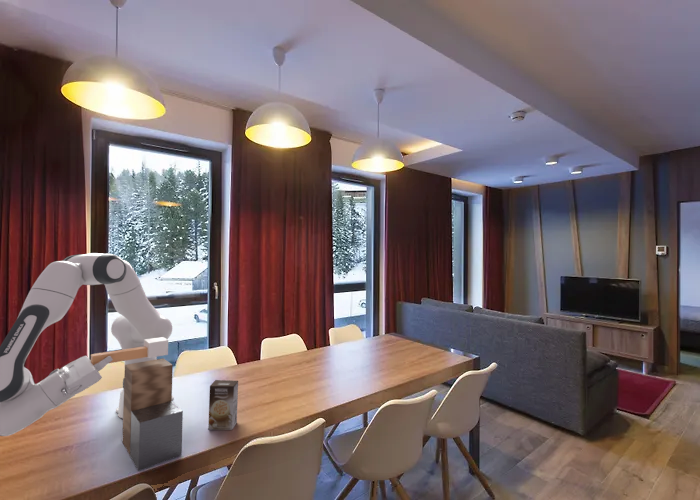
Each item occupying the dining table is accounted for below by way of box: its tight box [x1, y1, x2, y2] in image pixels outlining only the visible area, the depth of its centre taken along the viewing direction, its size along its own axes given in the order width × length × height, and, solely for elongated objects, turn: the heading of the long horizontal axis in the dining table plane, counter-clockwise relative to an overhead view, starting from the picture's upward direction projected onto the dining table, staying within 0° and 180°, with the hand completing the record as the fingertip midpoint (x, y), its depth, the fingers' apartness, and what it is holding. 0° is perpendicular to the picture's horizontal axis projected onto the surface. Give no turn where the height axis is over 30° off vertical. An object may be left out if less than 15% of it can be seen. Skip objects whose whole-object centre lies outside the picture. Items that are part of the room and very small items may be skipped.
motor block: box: [129, 400, 184, 472], centre depth 109 cm, size 12×10×14 cm
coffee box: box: [207, 379, 239, 431], centre depth 129 cm, size 9×6×16 cm
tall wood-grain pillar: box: [121, 357, 174, 456], centre depth 117 cm, size 12×10×26 cm
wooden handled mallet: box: [90, 337, 169, 365], centre depth 114 cm, size 21×6×5 cm, turn 134°
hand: (109, 355), depth 110 cm, fingers closed on wooden handled mallet, 3 cm apart
